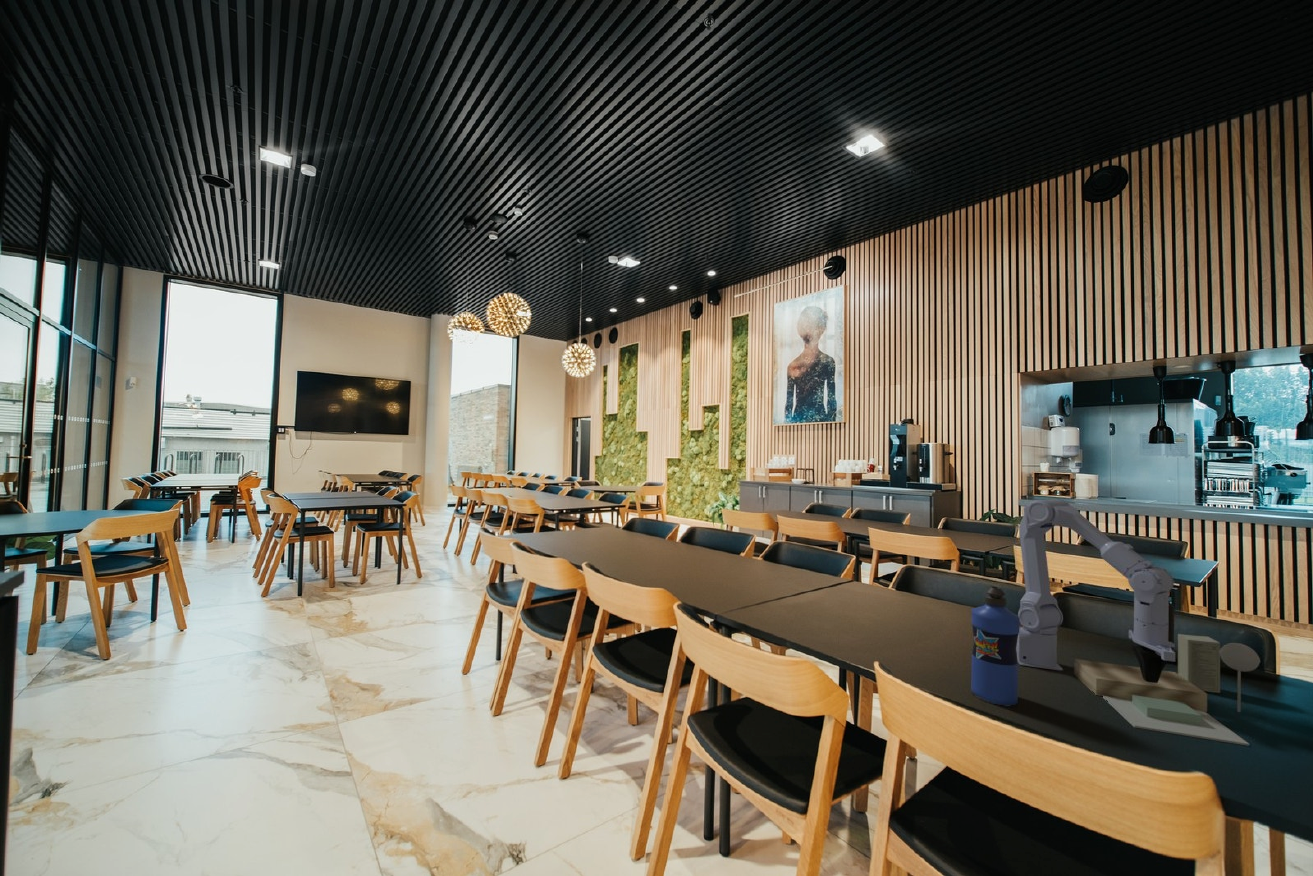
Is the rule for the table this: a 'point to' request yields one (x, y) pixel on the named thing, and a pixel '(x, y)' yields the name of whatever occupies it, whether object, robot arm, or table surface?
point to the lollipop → (1239, 661)
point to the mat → (1175, 723)
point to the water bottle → (995, 650)
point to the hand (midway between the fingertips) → (1150, 681)
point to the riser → (1138, 684)
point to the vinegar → (1170, 623)
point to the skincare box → (1199, 661)
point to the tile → (1166, 710)
